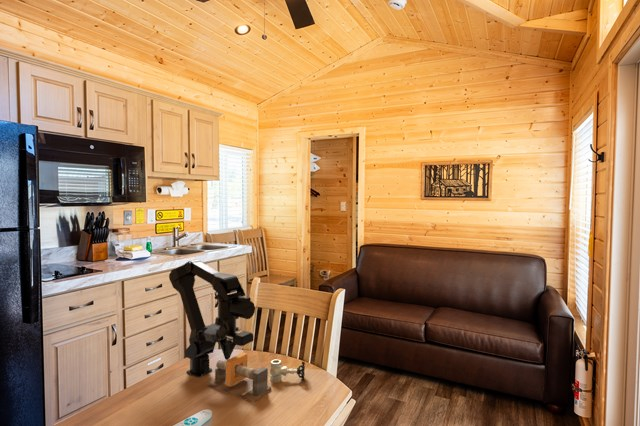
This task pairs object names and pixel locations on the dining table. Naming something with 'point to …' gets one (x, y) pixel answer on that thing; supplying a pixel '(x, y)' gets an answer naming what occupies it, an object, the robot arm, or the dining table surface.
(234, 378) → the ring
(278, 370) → the valve
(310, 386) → the dining table surface
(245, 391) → the pipe stand
